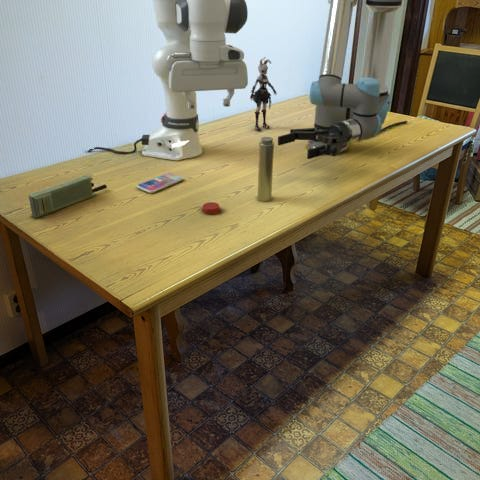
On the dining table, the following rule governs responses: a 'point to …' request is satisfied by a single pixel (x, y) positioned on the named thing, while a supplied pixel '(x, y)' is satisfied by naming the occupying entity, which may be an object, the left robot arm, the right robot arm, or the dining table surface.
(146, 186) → the smartphone
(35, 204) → the handheld radio
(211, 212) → the lid
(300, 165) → the dining table surface
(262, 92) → the figurine
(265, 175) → the olive cylindrical rod
